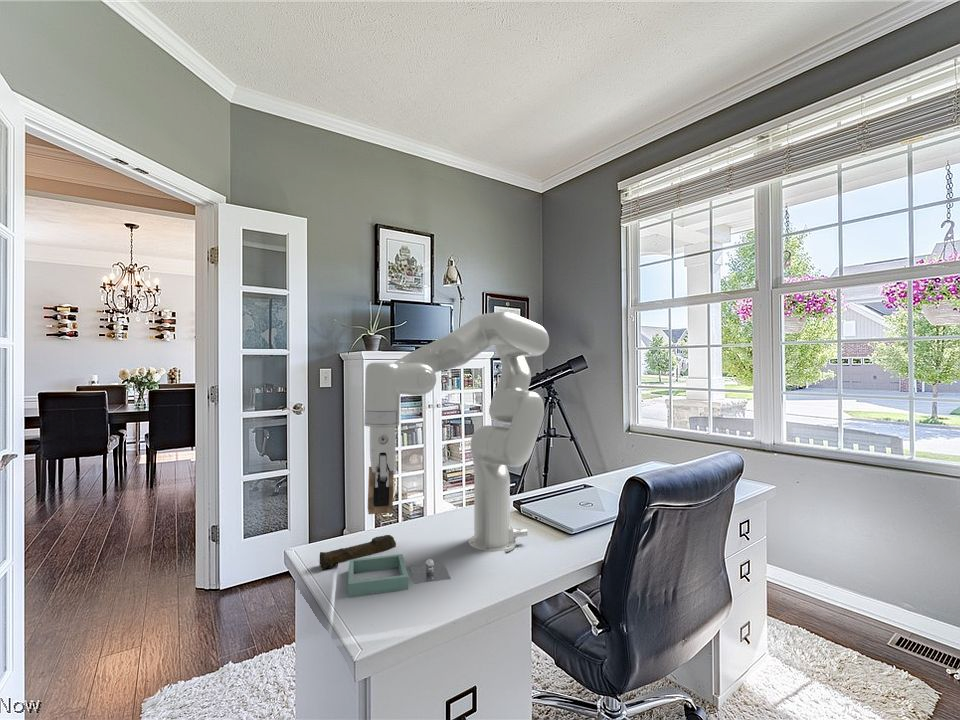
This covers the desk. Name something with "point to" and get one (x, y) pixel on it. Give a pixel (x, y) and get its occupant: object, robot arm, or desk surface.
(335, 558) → the hand tool
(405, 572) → the bin
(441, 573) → the stud base
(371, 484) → the brown wooden block
